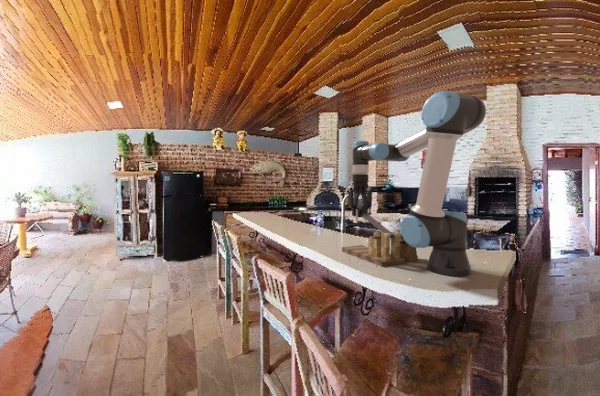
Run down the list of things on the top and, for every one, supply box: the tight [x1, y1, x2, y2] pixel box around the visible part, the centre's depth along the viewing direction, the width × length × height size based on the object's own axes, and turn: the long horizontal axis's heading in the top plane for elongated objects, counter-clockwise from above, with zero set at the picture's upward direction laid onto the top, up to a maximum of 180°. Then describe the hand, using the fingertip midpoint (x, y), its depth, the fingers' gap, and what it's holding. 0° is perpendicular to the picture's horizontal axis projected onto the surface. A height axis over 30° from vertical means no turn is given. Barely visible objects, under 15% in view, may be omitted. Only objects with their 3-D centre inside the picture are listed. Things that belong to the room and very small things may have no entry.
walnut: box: [372, 230, 382, 239], centre depth 133 cm, size 4×4×4 cm
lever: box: [356, 204, 394, 239], centre depth 136 cm, size 26×4×4 cm, turn 25°
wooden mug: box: [399, 233, 419, 263], centre depth 134 cm, size 9×14×18 cm, turn 129°
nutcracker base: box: [341, 231, 406, 267], centre depth 138 cm, size 30×12×13 cm, turn 24°
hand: (359, 222), depth 145 cm, fingers closed on lever, 4 cm apart
